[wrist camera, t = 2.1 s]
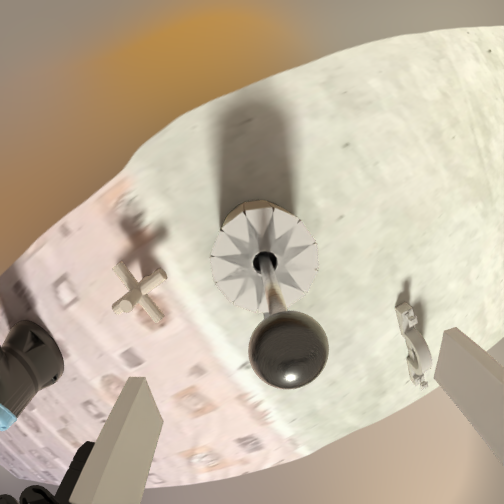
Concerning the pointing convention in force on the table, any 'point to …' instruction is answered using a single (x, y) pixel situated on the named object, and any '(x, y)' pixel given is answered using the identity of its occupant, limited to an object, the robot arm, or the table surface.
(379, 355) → the table surface
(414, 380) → the gateway
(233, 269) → the wooden mug
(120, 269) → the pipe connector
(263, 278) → the plunger
